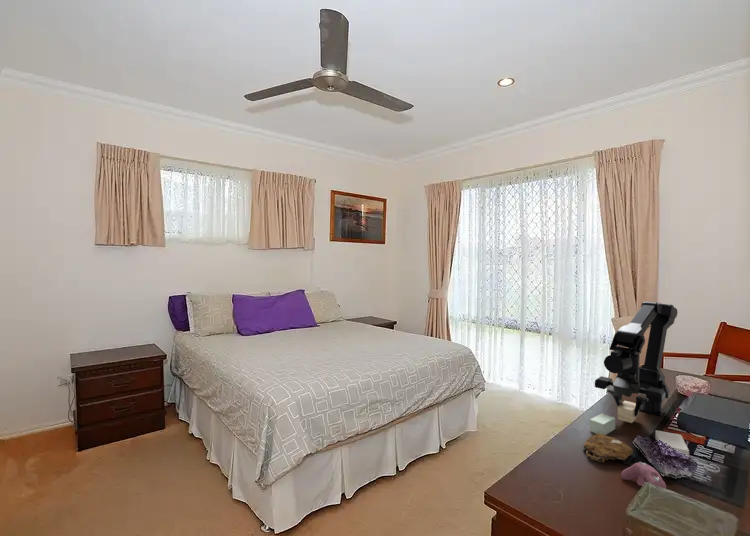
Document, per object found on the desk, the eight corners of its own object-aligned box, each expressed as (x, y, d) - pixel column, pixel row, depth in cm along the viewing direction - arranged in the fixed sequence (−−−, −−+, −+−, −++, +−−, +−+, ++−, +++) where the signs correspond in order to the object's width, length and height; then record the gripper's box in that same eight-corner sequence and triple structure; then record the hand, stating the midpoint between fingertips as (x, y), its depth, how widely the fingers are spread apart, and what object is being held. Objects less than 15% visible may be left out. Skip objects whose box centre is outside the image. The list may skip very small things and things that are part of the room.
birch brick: (624, 411, 125) (624, 400, 125) (638, 415, 122) (638, 404, 122) (617, 419, 120) (617, 407, 120) (631, 423, 117) (632, 411, 117)
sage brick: (601, 424, 120) (602, 413, 120) (615, 429, 117) (615, 417, 116) (589, 431, 115) (590, 419, 115) (603, 436, 112) (603, 424, 112)
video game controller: (658, 511, 81) (674, 486, 80) (638, 500, 82) (654, 475, 81) (635, 484, 91) (650, 461, 90) (617, 474, 92) (632, 452, 91)
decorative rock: (624, 476, 93) (635, 455, 103) (625, 461, 92) (637, 441, 103) (575, 457, 101) (591, 439, 111) (576, 442, 101) (592, 426, 111)
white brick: (655, 439, 110) (655, 430, 110) (680, 444, 107) (680, 434, 107) (661, 455, 102) (661, 445, 102) (688, 461, 99) (689, 450, 99)
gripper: (589, 366, 122) (588, 411, 122) (657, 380, 108) (657, 431, 108) (600, 360, 129) (599, 402, 130) (666, 372, 115) (665, 420, 116)
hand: (628, 413), depth 121 cm, fingers closed on birch brick, 4 cm apart
